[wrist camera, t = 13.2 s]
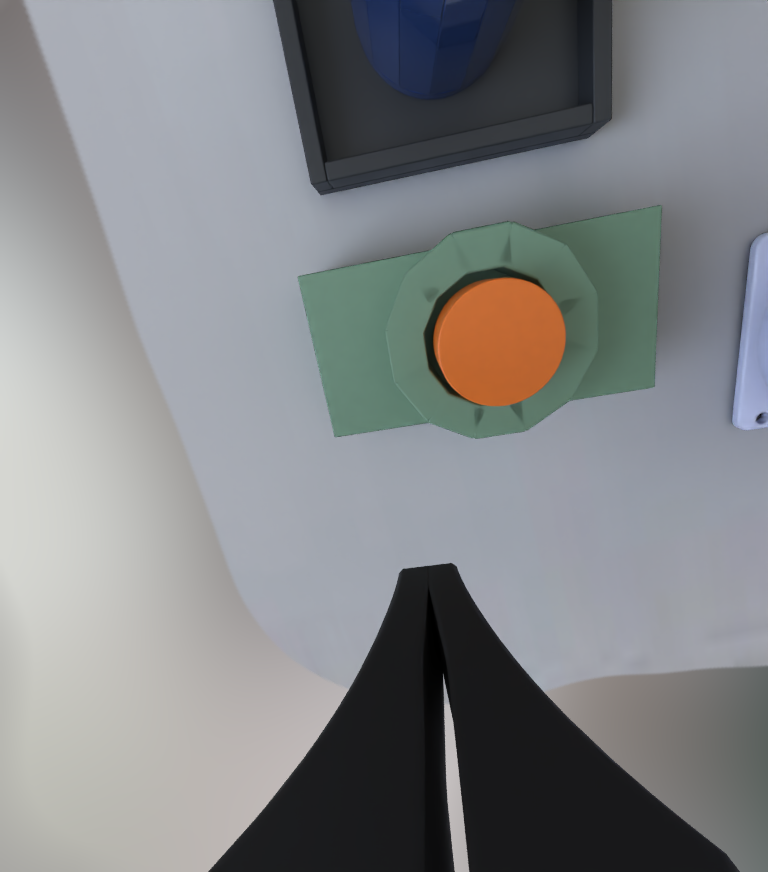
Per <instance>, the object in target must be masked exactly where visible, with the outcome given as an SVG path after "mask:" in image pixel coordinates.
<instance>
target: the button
mask: <svg viewBox="0 0 768 872" xmlns="http://www.w3.org/2000/svg"><path fill="white" fill-rule="evenodd" d="M565 343H566V330H565V323H564V319H563V316H562V313H561V311H560V309H559V307H558V305H557V304H556V302H555V301H554V300H553V298H552V297H551V296H550V295H549V294H548V293H547V292H546V291H545V290H543V289H542V288H541V287H539V286H538V285H536V284H534V283H532V282H529V281H526V280H523V279H518V278H493V279H484V280H480V281H476V282H474V283H471V284H469V285H467V286H465V287H464V288H462V289H460V290H459V291H458V292H456V293H455V294H454V295H453V296H452V297H451V298H450V299H449V300H448V302H447V303H446V304H445V305H444V307H443V309H442V310H441V312H440V314H439V316H438V318H437V321H436V324H435V328H434V334H433V346H434V352H435V356H436V359H437V362H438V364H439V366H440V368H441V370H442V372H443V374H444V376H445V378H446V380H447V381H448V383H449V384H450V385H451V387H452V388H453V389H454V390H455V391H456V392H458V393H459V394H460V395H461V396H463V397H464V398H466V399H468V400H470V401H472V402H474V403H477V404H481V405H486V406H506V405H511V404H515V403H518V402H521V401H523V400H525V399H527V398H529V397H531V396H532V395H534V394H535V393H537V392H538V391H539V390H540V389H542V388H543V387H544V386H545V385H546V384H547V383H548V382H549V380H550V379H551V378H552V376H553V375H554V374H555V372H556V370H557V369H558V367H559V364H560V362H561V360H562V357H563V354H564V349H565Z"/></svg>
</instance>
